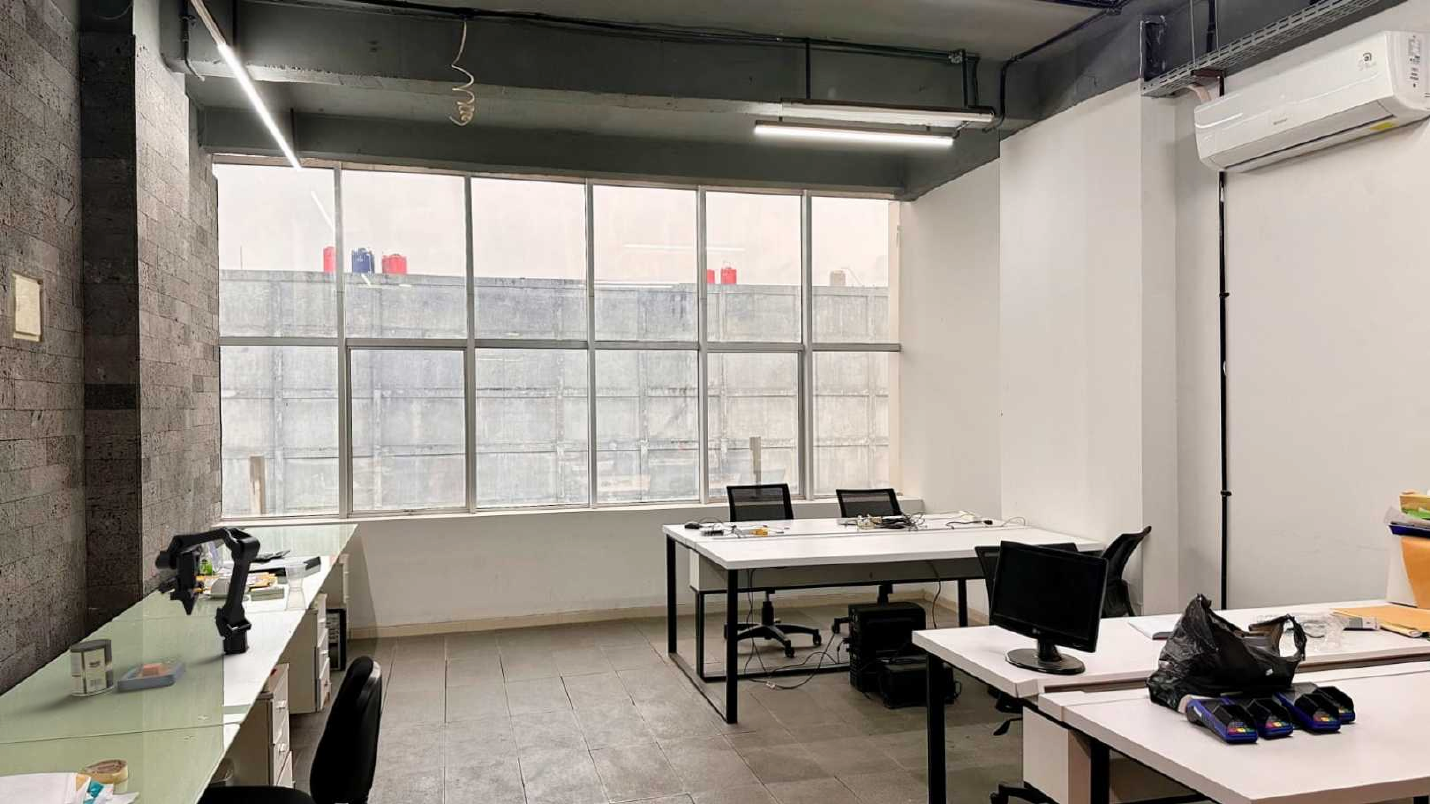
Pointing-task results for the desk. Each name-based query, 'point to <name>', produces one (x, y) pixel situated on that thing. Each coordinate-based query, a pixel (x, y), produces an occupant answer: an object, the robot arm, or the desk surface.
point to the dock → (150, 678)
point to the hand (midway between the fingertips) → (189, 615)
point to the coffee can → (91, 667)
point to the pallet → (162, 673)
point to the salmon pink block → (152, 669)
